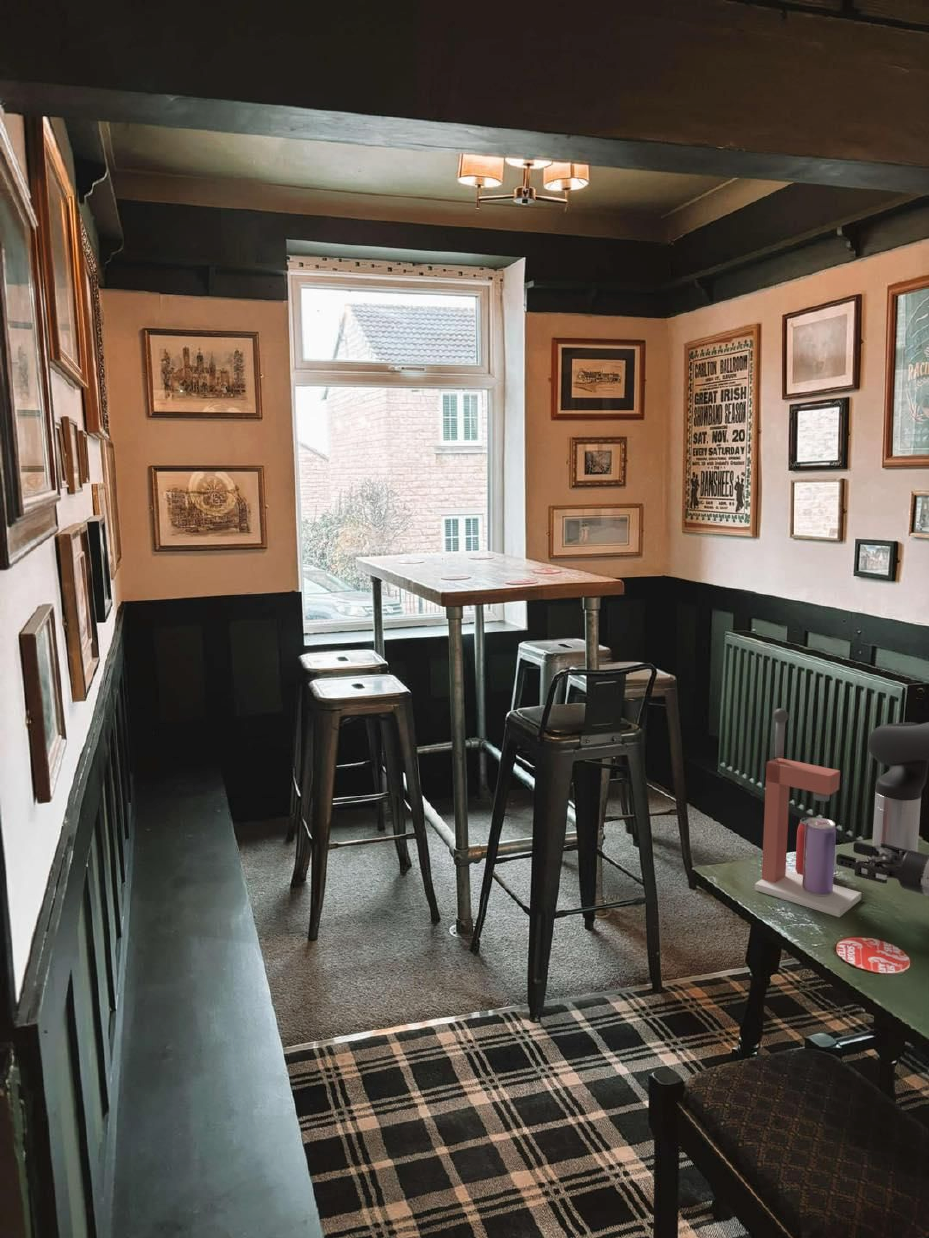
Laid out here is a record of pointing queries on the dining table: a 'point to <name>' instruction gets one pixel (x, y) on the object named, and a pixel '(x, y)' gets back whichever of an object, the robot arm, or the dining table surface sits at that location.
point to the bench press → (776, 827)
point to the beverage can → (819, 856)
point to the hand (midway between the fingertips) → (845, 852)
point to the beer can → (800, 846)
